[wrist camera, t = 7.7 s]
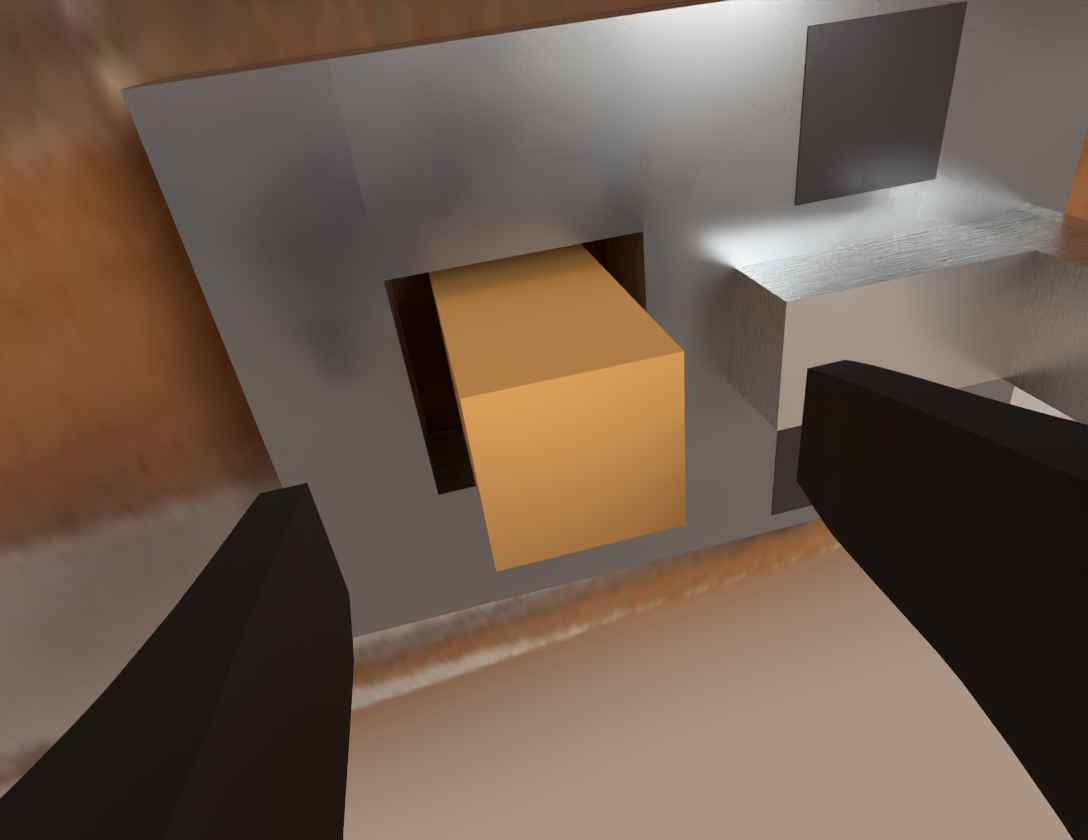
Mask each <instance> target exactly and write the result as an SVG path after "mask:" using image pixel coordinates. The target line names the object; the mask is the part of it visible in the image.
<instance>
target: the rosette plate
mask: <svg viewBox="0 0 1088 840" xmlns="http://www.w3.org/2000/svg"><path fill="white" fill-rule="evenodd" d="M121 92H122V95H123V97H124V100H125V102H126V105H127V107H128V109H129V112H130V114H131V117H132V119H133V122H134V124H135V127H136V129H137V132H138V134H139V136H140V139H141V141H142V144H143V146H144V149H145V151H146V154H147V156H148V159H149V161H150V163H151V166H152V168H153V171H154V173H155V176H156V178H157V181H158V183H159V186H160V188H161V191H162V193H163V195H164V198H165V200H166V203H167V205H168V208H169V210H170V213H171V215H172V218H173V220H174V222H175V225H176V227H177V230H178V232H179V235H180V237H181V240H182V242H183V245H184V247H185V249H186V252H187V254H188V257H189V259H190V262H191V264H192V267H193V269H194V272H195V274H196V276H197V279H198V281H199V284H200V286H201V289H202V291H203V294H204V296H205V299H206V301H207V304H208V306H209V308H210V311H211V313H212V316H213V318H214V321H215V323H216V326H217V328H218V331H219V333H220V335H221V338H222V340H223V343H224V345H225V348H226V350H227V353H228V355H229V358H230V360H231V362H232V365H233V367H234V370H235V372H236V375H237V377H238V380H239V382H240V385H241V387H242V389H243V392H244V394H245V397H246V399H247V402H248V404H249V407H250V409H251V412H252V414H253V416H254V419H255V421H256V424H257V426H258V429H259V431H260V434H261V436H262V439H263V441H264V444H265V446H266V448H267V451H268V453H269V456H270V458H271V461H272V463H273V466H274V468H275V471H276V473H277V475H278V478H279V480H280V483H281V485H282V488H286V487H291V486H295V485H299V484H304V483H308V486H309V489H310V491H311V494H312V496H313V499H314V502H315V504H316V507H317V510H318V512H319V515H320V518H321V520H322V523H323V525H324V528H325V531H326V533H327V536H328V539H329V541H330V544H331V546H332V549H333V552H334V554H335V557H336V560H337V562H338V565H339V567H340V570H341V573H342V575H343V578H344V581H345V583H346V586H347V588H348V591H349V595H350V609H351V622H352V637H357V636H361V635H365V634H369V633H373V632H377V631H381V630H385V629H388V628H392V627H396V626H400V625H404V624H408V623H412V622H416V621H420V620H424V619H428V618H432V617H436V616H439V615H443V614H447V613H451V612H455V611H459V610H463V609H467V608H471V607H475V606H479V605H483V604H487V603H490V602H494V601H498V600H502V599H506V598H510V597H514V596H518V595H522V594H526V593H530V592H534V591H538V590H541V589H545V588H549V587H553V586H557V585H561V584H565V583H569V582H573V581H577V580H581V579H585V578H588V577H592V576H596V575H600V574H604V573H608V572H612V571H616V570H620V569H624V568H628V567H632V566H636V565H639V564H643V563H647V562H651V561H655V560H659V559H663V558H667V557H671V556H675V555H679V554H683V553H687V552H690V551H694V550H698V549H702V548H706V547H710V546H714V545H718V544H722V543H726V542H730V541H734V540H738V539H741V538H745V537H749V536H753V535H757V534H761V533H765V532H769V531H773V530H777V529H781V528H785V527H789V526H792V525H796V524H800V523H804V522H808V521H812V520H816V519H820V516H819V515H818V513H817V512H816V510H815V509H814V507H813V506H812V504H811V503H810V501H809V500H808V498H807V496H806V495H805V493H804V492H803V490H802V489H801V487H800V485H799V484H798V482H797V481H796V480H797V469H798V459H799V449H800V438H801V428H802V425H800V426H796V427H792V428H788V429H783V430H779V431H777V430H776V429H775V428H774V427H773V426H772V425H771V424H770V423H769V422H768V421H767V420H766V419H765V418H764V417H763V416H762V415H761V414H760V413H759V412H758V411H757V410H756V409H754V408H753V407H752V406H751V405H750V404H749V403H748V402H747V401H746V400H745V399H744V398H743V397H742V396H741V395H740V394H739V393H738V392H737V391H736V390H735V389H734V388H733V387H732V370H733V339H734V307H735V275H736V268H739V267H744V266H749V265H754V264H759V263H764V262H769V261H774V260H779V259H784V258H789V257H794V256H799V255H804V254H809V253H814V252H819V251H824V250H828V249H833V248H838V247H843V246H848V245H853V244H858V243H863V242H868V241H873V240H878V239H883V238H888V237H893V236H898V235H903V234H908V233H913V232H918V231H923V230H928V229H933V228H938V227H943V226H948V225H953V224H958V223H963V222H968V221H973V220H978V219H983V218H988V217H993V216H998V215H1003V214H1008V213H1013V212H1018V211H1023V210H1028V209H1033V208H1038V207H1042V208H1045V209H1049V210H1053V211H1056V212H1060V213H1064V210H1065V206H1066V203H1067V199H1068V196H1069V192H1070V189H1071V185H1072V182H1073V178H1074V175H1075V171H1076V168H1077V164H1078V161H1079V157H1080V153H1081V150H1082V146H1083V143H1084V139H1085V136H1086V132H1087V129H1088V0H692V1H685V2H678V3H672V4H665V5H658V6H651V7H644V8H637V9H630V10H624V11H617V12H610V13H603V14H596V15H589V16H582V17H576V18H569V19H562V20H555V21H548V22H541V23H534V24H527V25H521V26H514V27H507V28H500V29H493V30H486V31H479V32H473V33H466V34H459V35H452V36H445V37H438V38H431V39H425V40H418V41H411V42H404V43H397V44H390V45H383V46H377V47H370V48H363V49H356V50H349V51H342V52H335V53H328V54H322V55H315V56H308V57H301V58H294V59H287V60H280V61H274V62H267V63H260V64H253V65H246V66H239V67H232V68H226V69H219V70H212V71H205V72H198V73H191V74H184V75H177V76H171V77H164V78H161V79H157V80H154V81H150V82H146V83H143V84H139V85H135V86H132V87H128V88H125V89H121ZM601 239H605V241H606V255H607V269H608V273H609V274H610V275H611V276H612V277H613V278H614V279H615V280H616V281H617V282H618V283H619V284H620V285H621V286H622V287H623V288H624V289H625V290H626V291H627V292H628V294H629V295H630V296H631V297H632V298H633V299H634V300H635V301H636V302H637V303H638V304H639V305H640V306H641V307H642V308H643V309H644V310H645V311H646V312H647V313H648V314H649V315H650V316H651V317H652V318H653V319H654V321H655V322H656V323H657V324H658V325H659V326H660V327H661V328H662V329H663V330H664V331H665V332H666V333H667V334H668V335H669V336H670V337H671V338H672V339H673V340H674V341H675V342H676V343H677V344H678V345H679V347H680V348H681V349H682V350H683V351H684V393H685V506H686V525H683V526H679V527H675V528H671V529H667V530H663V531H659V532H655V533H651V534H647V535H643V536H639V537H635V538H631V539H627V540H623V541H619V542H614V543H610V544H606V545H602V546H598V547H594V548H590V549H586V550H582V551H578V552H574V553H570V554H566V555H562V556H558V557H554V558H550V559H546V560H542V561H538V562H534V563H530V564H526V565H521V566H517V567H513V568H509V569H505V570H501V571H497V572H496V568H495V564H494V560H493V556H492V551H491V547H490V543H489V538H488V534H487V530H486V526H485V521H484V517H483V513H482V509H481V504H480V500H479V496H478V492H477V487H476V483H475V479H474V475H473V470H472V466H471V462H470V458H469V453H468V449H467V445H466V440H465V436H464V432H463V428H462V426H461V427H457V428H452V429H448V430H443V431H438V432H434V433H429V431H428V427H427V423H426V419H425V415H424V411H423V407H422V403H421V399H420V395H419V391H418V387H417V383H416V379H415V375H414V371H413V367H412V363H411V359H410V355H409V351H408V347H407V343H406V339H405V335H404V331H403V327H402V323H401V319H400V315H399V311H398V307H397V303H396V299H395V295H394V291H393V287H392V283H391V279H396V278H401V277H406V276H411V275H417V274H422V273H427V272H433V271H438V270H443V269H448V268H454V267H459V266H464V265H469V264H475V263H480V262H485V261H491V260H496V259H501V258H506V257H512V256H517V255H522V254H527V253H533V252H538V251H543V250H549V249H554V248H559V247H564V246H570V245H575V244H580V243H585V242H591V241H596V240H601ZM958 389H959V390H963V391H966V392H969V393H973V394H976V395H980V396H983V397H987V398H990V399H994V400H997V401H1000V402H1004V403H1008V404H1010V400H1011V397H1012V393H1013V390H1014V385H1012V384H1011V383H1009V382H1007V381H1005V380H1003V379H1002V378H1000V379H996V380H992V381H988V382H983V383H979V384H975V385H971V386H966V387H962V388H958Z"/></svg>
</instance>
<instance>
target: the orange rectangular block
mask: <svg viewBox="0 0 1088 840" xmlns="http://www.w3.org/2000/svg"><path fill="white" fill-rule="evenodd" d="M428 273H429V278H430V283H431V287H432V292H433V297H434V301H435V306H436V310H437V315H438V320H439V324H440V329H441V334H442V338H443V343H444V348H445V352H446V357H447V362H448V366H449V371H450V375H451V380H452V385H453V389H454V394H455V398H456V402H457V406H458V411H459V415H460V419H461V423H462V428H463V432H464V436H465V440H466V445H467V449H468V453H469V458H470V462H471V466H472V470H473V475H474V479H475V483H476V487H477V492H478V496H479V500H480V504H481V509H482V513H483V517H484V521H485V526H486V530H487V534H488V538H489V543H490V547H491V551H492V556H493V560H494V564H495V568H496V572H497V571H501V570H505V569H509V568H513V567H517V566H521V565H526V564H530V563H534V562H538V561H542V560H546V559H550V558H554V557H558V556H562V555H566V554H570V553H574V552H578V551H582V550H586V549H590V548H594V547H598V546H602V545H606V544H610V543H614V542H619V541H623V540H627V539H631V538H635V537H639V536H643V535H647V534H651V533H655V532H659V531H663V530H667V529H671V528H675V527H679V526H683V525H686V506H685V393H684V351H683V350H682V349H681V348H680V347H679V345H678V344H677V343H676V342H675V341H674V340H673V339H672V338H671V337H670V336H669V335H668V334H667V333H666V332H665V331H664V330H663V329H662V328H661V327H660V326H659V325H658V324H657V323H656V322H655V321H654V319H653V318H652V317H651V316H650V315H649V314H648V313H647V312H646V311H645V310H644V309H643V308H642V307H641V306H640V305H639V304H638V303H637V302H636V301H635V300H634V299H633V298H632V297H631V296H630V295H629V294H628V292H627V291H626V290H625V289H624V288H623V287H622V286H621V285H620V284H619V283H618V282H617V281H616V280H615V279H614V278H613V277H612V276H611V275H610V274H609V273H608V272H607V271H606V270H605V269H604V268H603V266H602V265H601V264H600V263H599V262H598V261H597V260H596V259H595V258H594V257H593V256H592V255H591V254H590V253H589V252H588V251H587V250H586V249H585V248H584V247H583V246H582V245H581V244H575V245H570V246H564V247H559V248H554V249H549V250H543V251H538V252H533V253H527V254H522V255H517V256H512V257H506V258H501V259H496V260H491V261H485V262H480V263H475V264H469V265H464V266H459V267H454V268H448V269H443V270H438V271H433V272H428Z"/></svg>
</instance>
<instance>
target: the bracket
mask: <svg viewBox="0 0 1088 840" xmlns="http://www.w3.org/2000/svg"><path fill="white" fill-rule="evenodd" d="M842 360H850V361H856V362H861V363H865V364H870V365H874V366H878V367H882V368H886V369H890V370H893V371H897V372H901V373H904V374H908V375H911V376H915V377H918V378H922V379H925V380H929V381H932V382H935V383H939V384H942V385H946V386H949V387H953V388H956V389H958V388H962V387H966V386H971V385H975V384H979V383H983V382H988V381H992V380H996V379H1000V378H1002V379H1003V380H1005V381H1007V382H1009V383H1011V384H1012V385H1014V386H1016V387H1018V388H1019V389H1021V390H1023V391H1025V392H1027V393H1028V394H1030V395H1032V396H1034V397H1035V398H1037V399H1039V400H1041V401H1043V402H1044V403H1046V404H1048V405H1050V406H1051V407H1053V408H1055V409H1057V410H1059V411H1060V412H1062V413H1064V414H1066V415H1067V416H1069V417H1071V418H1073V419H1075V420H1076V421H1078V422H1080V423H1083V424H1087V425H1088V220H1085V219H1082V218H1078V217H1074V216H1071V215H1067V214H1064V213H1060V212H1056V211H1053V210H1049V209H1045V208H1042V207H1038V208H1033V209H1028V210H1023V211H1018V212H1013V213H1008V214H1003V215H998V216H993V217H988V218H983V219H978V220H973V221H968V222H963V223H958V224H953V225H948V226H943V227H938V228H933V229H928V230H923V231H918V232H913V233H908V234H903V235H898V236H893V237H888V238H883V239H878V240H873V241H868V242H863V243H858V244H853V245H848V246H843V247H838V248H833V249H828V250H824V251H819V252H814V253H809V254H804V255H799V256H794V257H789V258H784V259H779V260H774V261H769V262H764V263H759V264H754V265H749V266H744V267H739V268H736V275H735V307H734V339H733V370H732V387H733V388H734V389H735V390H736V391H737V392H738V393H739V394H740V395H741V396H742V397H743V398H744V399H745V400H746V401H747V402H748V403H749V404H750V405H751V406H752V407H753V408H754V409H756V410H757V411H758V412H759V413H760V414H761V415H762V416H763V417H764V418H765V419H766V420H767V421H768V422H769V423H770V424H771V425H772V426H773V427H774V428H775V429H776V430H777V431H779V430H783V429H788V428H792V427H796V426H800V425H802V418H803V407H804V397H805V387H806V376H807V368H811V367H815V366H820V365H824V364H829V363H833V362H837V361H842Z"/></svg>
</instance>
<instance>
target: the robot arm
mask: <svg viewBox="0 0 1088 840" xmlns="http://www.w3.org/2000/svg"><path fill="white" fill-rule="evenodd" d="M796 481H797V482H798V484H799V485H800V487H801V489H802V490H803V492H804V493H805V495H806V496H807V498H808V500H809V501H810V503H811V504H812V506H813V507H814V509H815V510H816V512H817V513H818V515H819V516H820V518H821V519H822V521H823V522H824V523H825V525H826V526H827V528H828V529H829V531H830V532H831V533H832V535H833V536H834V537H835V538H836V539H837V541H838V542H839V543H840V544H841V545H842V546H843V548H844V549H845V550H846V551H847V552H848V553H849V554H850V555H851V556H852V558H853V559H854V560H855V561H856V562H857V563H858V565H859V566H860V567H861V568H862V569H863V570H864V571H865V572H866V574H867V575H868V576H869V577H870V578H871V579H872V580H873V581H874V582H875V584H876V585H877V586H878V587H879V588H880V589H881V590H882V591H883V592H884V594H885V595H886V596H887V597H888V598H889V599H890V600H891V601H892V602H893V604H894V605H895V606H896V607H897V608H898V609H899V610H900V611H901V612H902V614H903V615H904V616H905V617H906V618H907V619H908V620H909V621H910V622H911V624H912V625H913V626H914V627H915V628H916V629H917V630H918V631H919V632H920V634H921V635H922V636H923V637H924V638H925V639H926V640H927V641H928V642H929V643H930V645H931V646H932V647H933V648H934V649H935V650H936V651H937V652H938V654H939V655H940V656H941V657H942V658H943V659H944V661H945V662H946V663H947V664H948V666H949V667H950V668H951V669H952V670H953V672H954V673H955V674H956V675H957V676H958V678H959V679H960V680H961V681H962V682H963V684H964V685H965V687H966V688H967V689H968V691H969V692H970V693H971V695H972V696H973V697H974V699H975V700H976V701H977V703H978V704H979V706H980V707H981V708H982V710H983V711H984V712H985V714H986V715H987V716H988V718H989V719H990V720H991V722H992V723H993V725H994V726H995V727H996V728H997V730H998V731H999V733H1000V734H1001V735H1002V737H1003V738H1004V739H1005V741H1006V742H1007V744H1008V745H1009V746H1010V748H1011V749H1012V751H1013V752H1014V753H1015V755H1016V756H1017V758H1018V759H1019V761H1020V762H1021V763H1022V765H1023V766H1024V768H1025V769H1026V771H1027V772H1028V773H1029V775H1030V777H1031V778H1032V779H1033V781H1034V782H1035V784H1036V785H1037V787H1038V788H1039V789H1040V791H1041V792H1042V794H1043V795H1044V797H1045V798H1046V800H1047V801H1048V803H1049V804H1050V805H1051V807H1052V808H1053V810H1054V811H1055V813H1056V814H1057V816H1058V817H1059V818H1060V820H1061V821H1062V823H1063V825H1064V826H1065V828H1066V829H1067V831H1068V832H1069V834H1070V835H1071V837H1072V838H1073V840H1088V425H1087V424H1083V423H1079V422H1075V421H1071V420H1067V419H1063V418H1059V417H1055V416H1051V415H1047V414H1044V413H1040V412H1036V411H1033V410H1029V409H1025V408H1022V407H1018V406H1015V405H1011V404H1008V403H1004V402H1000V401H997V400H994V399H990V398H987V397H983V396H980V395H976V394H973V393H969V392H966V391H963V390H959V389H956V388H953V387H949V386H946V385H942V384H939V383H935V382H932V381H929V380H925V379H922V378H918V377H915V376H911V375H908V374H904V373H901V372H897V371H893V370H890V369H886V368H882V367H878V366H874V365H870V364H865V363H861V362H856V361H850V360H842V361H837V362H833V363H829V364H824V365H820V366H815V367H811V368H807V376H806V387H805V397H804V407H803V418H802V428H801V438H800V449H799V459H798V469H797V480H796ZM353 667H354V655H353V637H352V622H351V609H350V595H349V591H348V588H347V586H346V583H345V581H344V578H343V575H342V573H341V570H340V567H339V565H338V562H337V560H336V557H335V554H334V552H333V549H332V546H331V544H330V541H329V539H328V536H327V533H326V531H325V528H324V525H323V523H322V520H321V518H320V515H319V512H318V510H317V507H316V504H315V502H314V499H313V496H312V494H311V491H310V489H309V486H308V483H304V484H299V485H295V486H291V487H286V488H282V489H277V490H273V491H269V492H264V493H260V494H259V496H258V497H257V498H256V499H255V501H254V502H253V503H252V504H251V506H250V507H249V508H248V510H247V511H246V513H245V514H244V515H243V517H242V518H241V519H240V521H239V522H238V523H237V525H236V526H235V528H234V529H233V530H232V532H231V533H230V534H229V536H228V537H227V539H226V540H225V541H224V543H223V544H222V545H221V547H220V548H219V550H218V551H217V552H216V554H215V555H214V556H213V558H212V559H211V560H210V562H209V563H208V564H207V566H206V567H205V568H204V570H203V571H202V572H201V573H200V575H199V576H198V577H197V579H196V580H195V581H194V583H193V584H192V585H191V587H190V588H189V589H188V591H187V592H186V593H185V595H184V596H183V597H182V599H181V600H180V601H179V603H178V604H177V605H176V606H175V608H174V609H173V610H172V611H171V613H170V614H169V615H168V616H167V617H166V619H165V620H164V621H163V622H162V623H161V625H160V626H159V627H158V628H157V629H156V631H155V632H154V633H153V634H152V635H151V637H150V638H149V639H148V640H147V641H146V643H145V644H144V645H143V646H142V647H141V649H140V650H139V651H138V652H137V653H136V655H135V656H134V657H133V658H132V659H131V661H130V662H129V663H128V664H127V665H126V666H125V668H124V669H123V670H122V671H121V672H120V674H119V675H118V676H117V677H116V678H115V680H114V681H113V682H112V683H111V684H110V685H109V686H108V688H107V689H106V690H105V691H104V692H103V693H102V694H101V695H100V697H99V698H98V699H97V700H96V701H95V702H94V703H93V704H92V705H91V706H90V707H89V709H88V710H87V711H86V712H85V713H84V714H83V715H82V716H81V717H80V718H79V719H78V720H77V721H76V723H75V724H74V725H73V726H72V727H71V728H70V729H69V730H68V731H67V732H66V733H65V734H64V735H63V736H62V737H61V738H60V739H59V740H58V741H57V742H56V743H55V744H54V745H53V746H52V747H51V748H50V749H49V750H48V751H47V752H46V753H45V754H44V755H43V757H42V758H41V759H40V760H39V761H38V762H37V763H36V764H35V765H34V766H33V767H32V768H31V769H30V770H29V771H28V772H27V773H26V774H25V775H24V776H23V777H22V778H21V779H20V780H19V781H18V782H17V783H16V784H15V785H14V786H13V787H12V788H11V789H10V790H9V791H8V792H7V793H5V794H4V795H3V796H2V797H1V798H0V840H343V827H344V811H345V796H346V781H347V780H346V779H347V765H348V750H349V733H350V719H351V703H352V686H353Z"/></svg>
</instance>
